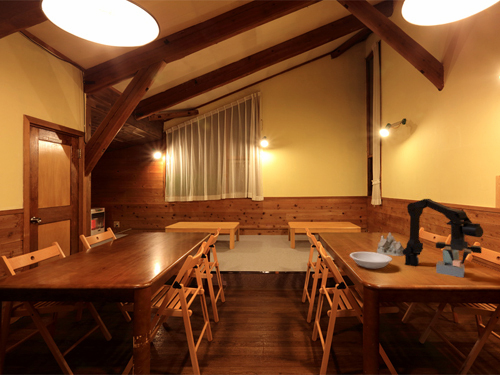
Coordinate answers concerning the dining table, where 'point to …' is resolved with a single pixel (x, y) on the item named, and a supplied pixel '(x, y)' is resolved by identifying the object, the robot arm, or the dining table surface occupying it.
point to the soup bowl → (371, 259)
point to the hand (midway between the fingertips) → (458, 263)
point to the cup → (447, 256)
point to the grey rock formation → (390, 246)
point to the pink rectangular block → (457, 263)
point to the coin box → (449, 269)
